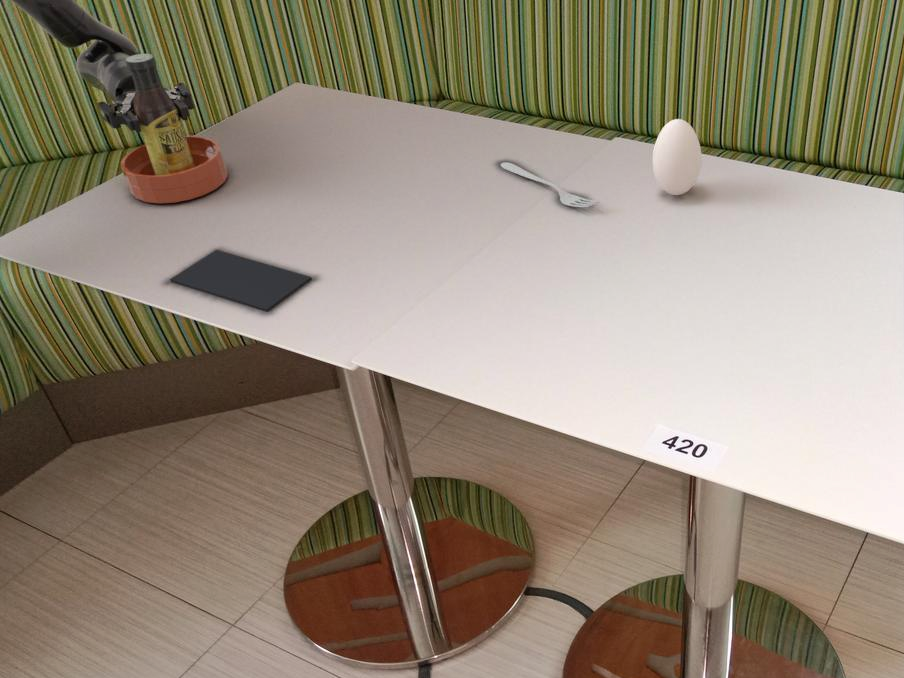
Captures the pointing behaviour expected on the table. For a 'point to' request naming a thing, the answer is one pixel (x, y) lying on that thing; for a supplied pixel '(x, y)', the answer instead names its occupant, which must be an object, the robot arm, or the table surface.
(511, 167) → the fork
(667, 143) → the egg
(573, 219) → the table surface
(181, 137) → the sauce bottle
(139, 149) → the bowl
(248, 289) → the mat
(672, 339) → the table surface
